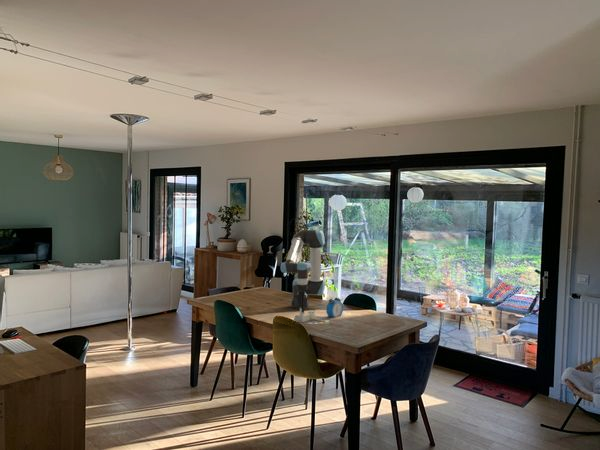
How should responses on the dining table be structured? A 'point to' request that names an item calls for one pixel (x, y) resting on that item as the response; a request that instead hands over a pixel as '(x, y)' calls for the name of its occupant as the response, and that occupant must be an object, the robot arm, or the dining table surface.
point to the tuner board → (327, 319)
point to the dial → (310, 317)
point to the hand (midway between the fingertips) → (301, 316)
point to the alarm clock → (334, 307)
